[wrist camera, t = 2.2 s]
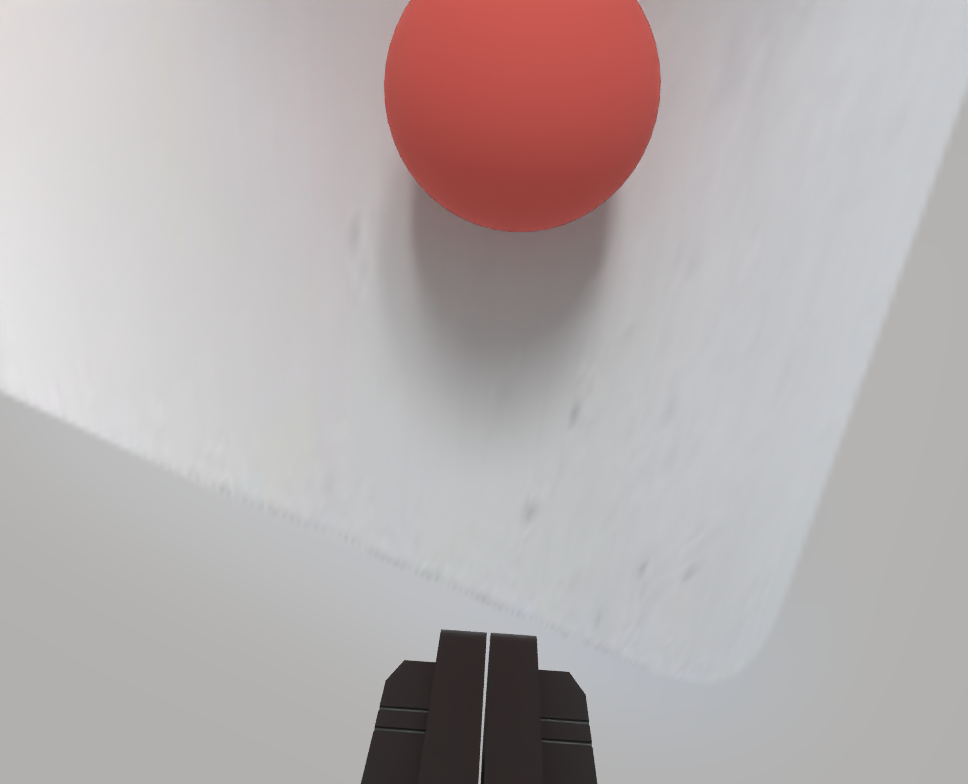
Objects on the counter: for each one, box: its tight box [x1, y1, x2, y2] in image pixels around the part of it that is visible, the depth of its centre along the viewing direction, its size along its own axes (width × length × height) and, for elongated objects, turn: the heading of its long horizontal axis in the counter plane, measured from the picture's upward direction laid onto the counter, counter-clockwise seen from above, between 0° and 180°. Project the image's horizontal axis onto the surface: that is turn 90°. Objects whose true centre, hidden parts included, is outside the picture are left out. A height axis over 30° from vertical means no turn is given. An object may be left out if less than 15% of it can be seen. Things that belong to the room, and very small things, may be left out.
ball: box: [384, 0, 661, 232], centre depth 18 cm, size 6×6×6 cm
